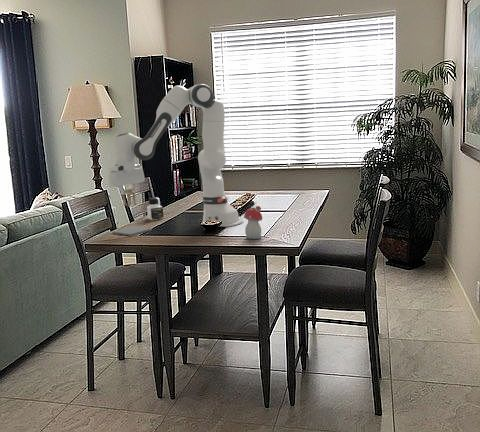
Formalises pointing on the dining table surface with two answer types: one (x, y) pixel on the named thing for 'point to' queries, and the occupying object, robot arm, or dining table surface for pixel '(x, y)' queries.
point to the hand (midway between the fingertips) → (128, 193)
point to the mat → (132, 231)
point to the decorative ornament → (253, 223)
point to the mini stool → (129, 197)
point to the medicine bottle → (155, 209)
